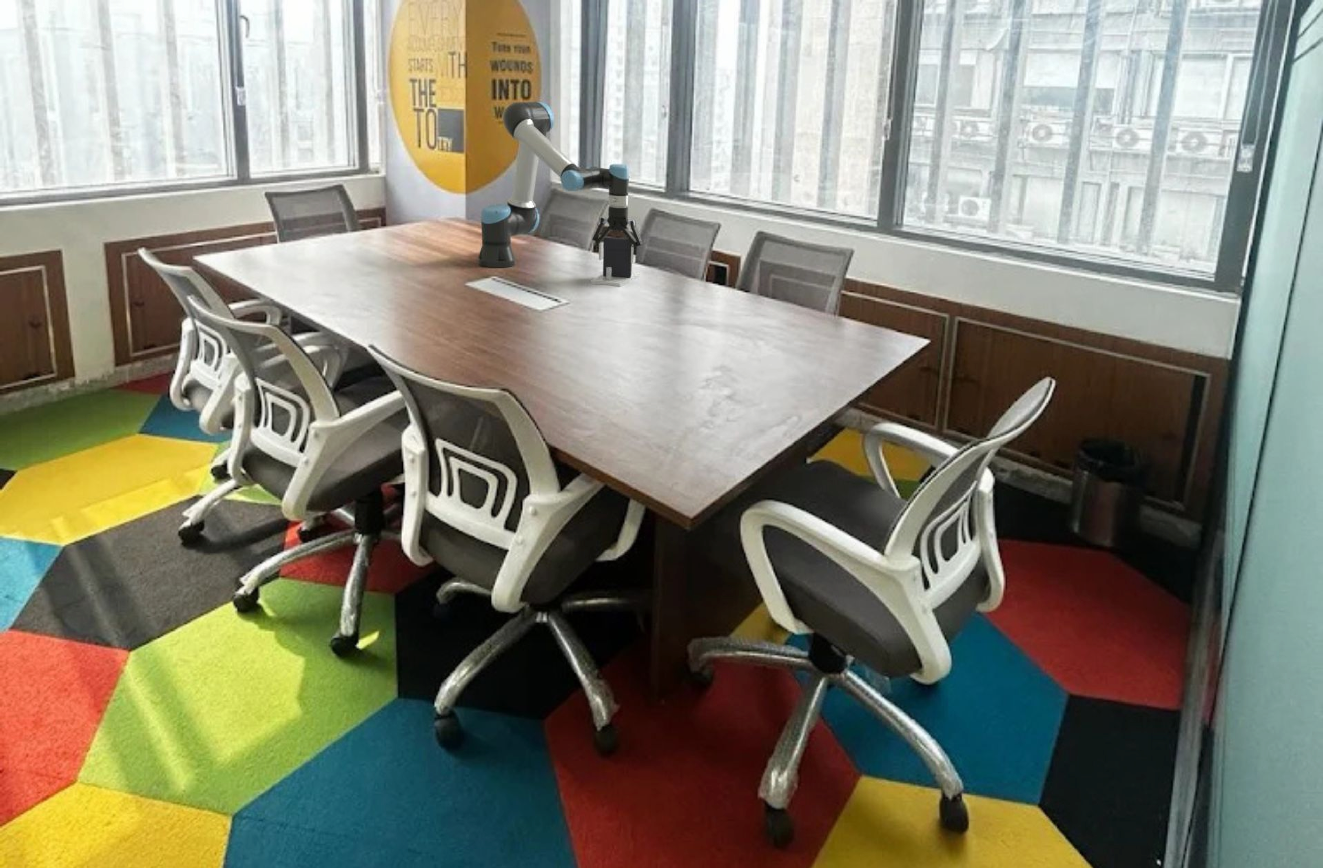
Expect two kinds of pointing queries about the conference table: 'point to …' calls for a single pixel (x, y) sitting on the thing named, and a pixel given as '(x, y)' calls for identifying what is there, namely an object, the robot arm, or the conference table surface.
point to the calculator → (617, 256)
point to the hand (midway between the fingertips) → (616, 261)
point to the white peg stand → (614, 278)
